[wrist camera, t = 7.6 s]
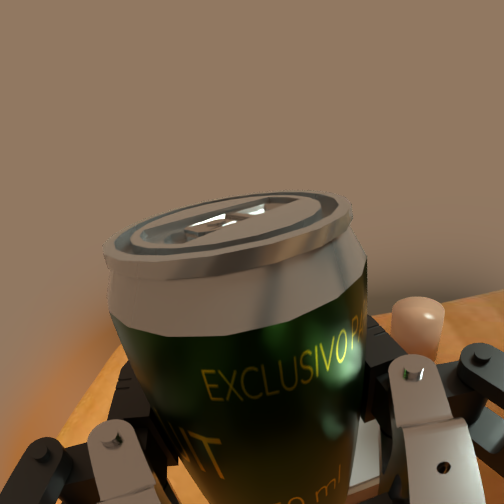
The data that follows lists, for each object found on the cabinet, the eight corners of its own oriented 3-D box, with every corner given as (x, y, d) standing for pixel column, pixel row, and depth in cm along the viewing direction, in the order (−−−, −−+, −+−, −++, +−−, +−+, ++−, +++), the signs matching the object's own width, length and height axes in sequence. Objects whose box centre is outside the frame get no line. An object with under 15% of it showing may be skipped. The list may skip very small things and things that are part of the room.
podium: (403, 381, 27) (407, 360, 26) (459, 452, 17) (471, 432, 16) (303, 415, 26) (302, 395, 25) (342, 508, 16) (345, 494, 15)
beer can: (288, 436, 13) (250, 187, 10) (371, 492, 9) (413, 194, 5) (198, 493, 11) (77, 237, 7) (273, 573, 6) (132, 315, 3)
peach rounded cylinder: (418, 333, 34) (423, 292, 32) (445, 358, 29) (455, 314, 27) (379, 348, 34) (382, 305, 32) (404, 377, 28) (412, 332, 26)
